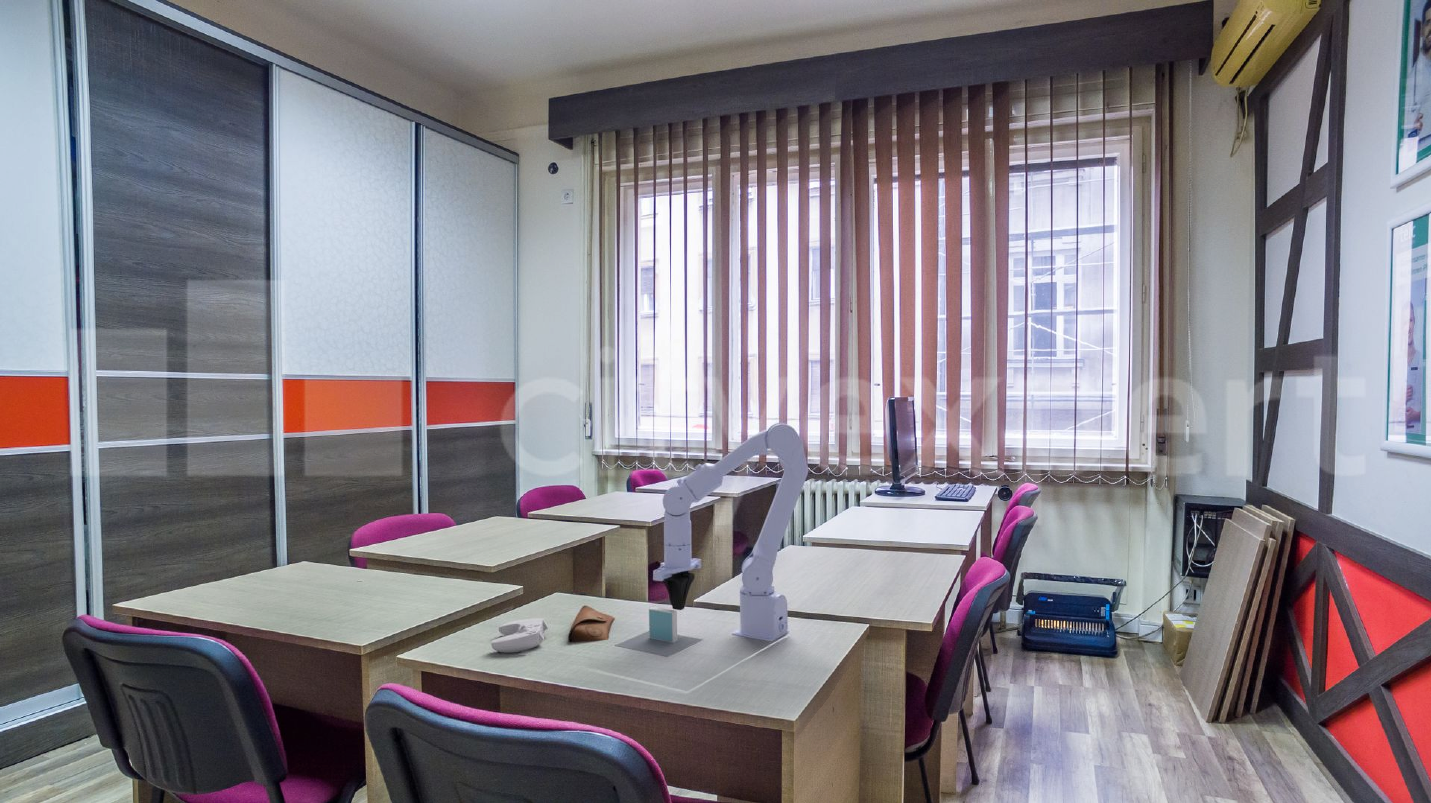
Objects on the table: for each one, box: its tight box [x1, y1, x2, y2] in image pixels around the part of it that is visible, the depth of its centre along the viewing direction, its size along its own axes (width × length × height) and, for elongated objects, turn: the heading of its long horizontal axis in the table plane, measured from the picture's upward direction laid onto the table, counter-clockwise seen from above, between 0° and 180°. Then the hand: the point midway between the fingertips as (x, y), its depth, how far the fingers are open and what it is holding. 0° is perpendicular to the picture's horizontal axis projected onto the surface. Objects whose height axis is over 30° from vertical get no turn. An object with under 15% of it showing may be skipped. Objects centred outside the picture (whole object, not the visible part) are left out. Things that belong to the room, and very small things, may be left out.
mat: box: [614, 630, 704, 658], centre depth 153 cm, size 13×12×1 cm
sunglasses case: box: [567, 604, 616, 643], centre depth 163 cm, size 18×7×7 cm
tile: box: [648, 606, 678, 643], centre depth 155 cm, size 6×2×6 cm, turn 57°
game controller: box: [490, 617, 549, 654], centre depth 155 cm, size 14×4×10 cm
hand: (678, 608), depth 160 cm, fingers closed
